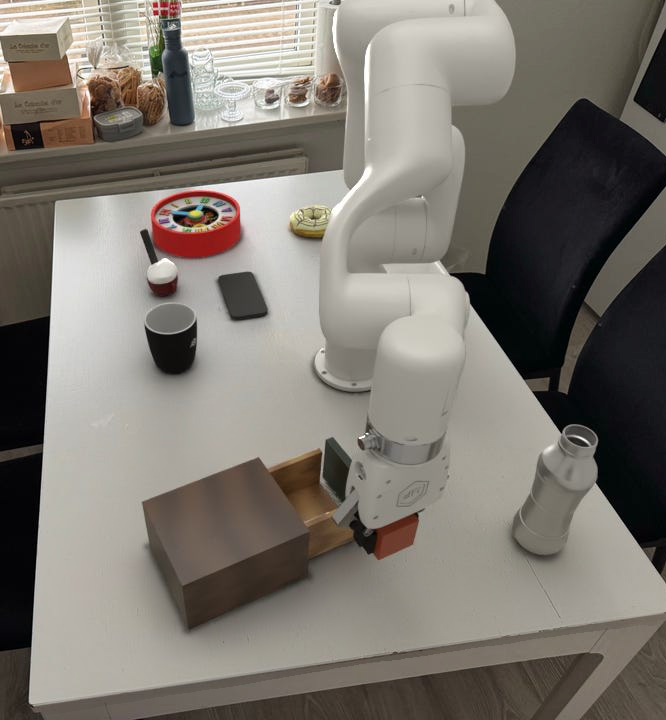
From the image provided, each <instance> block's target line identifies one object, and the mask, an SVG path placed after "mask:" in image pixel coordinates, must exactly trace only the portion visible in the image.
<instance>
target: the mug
mask: <svg viewBox="0 0 666 720" xmlns="http://www.w3.org/2000/svg"><path fill="white" fill-rule="evenodd" d="M197 318H198V317H197V313H196V311H195V310H194V309H193V308H192V307H191V306H189V305H187V304H184V303H180V302H164V303H160V304H158V305H155V306H153V307H152V308H150V309H149V310H148V311H147V312H146V313H145V314H144V318H143V327H144V331H145V338H146V341H147V344H148V348H149V352H150V355H151V358H152V360H153V362H154V364H155V366H156V367H157V368H158V369H159V370H160V371H161V372H163V373H165V374H169V375H179V374H182V373H185V372H186V371H188V370H190V368H191V367H192V366H193V364H194V362H195V358H196V354H197V345H198V319H197Z"/></svg>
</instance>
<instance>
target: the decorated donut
mask: <svg viewBox="0 0 666 720" xmlns="http://www.w3.org/2000/svg"><path fill="white" fill-rule="evenodd" d="M333 209H334V208H331V207H329V206H325V205H319V204H318V205H308V206H304V207H301V208H299V209H296V210H295V211H294V212H292V214H290V216H289V227H290V230H291V231H292V232H293V233H295V234H296V235H299V236H301V237H307V238H323V237H324V234H325V231H326V228H327V226H328V221H329V216H330V214H331V212H332V210H333Z"/></svg>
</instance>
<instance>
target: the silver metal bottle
mask: <svg viewBox="0 0 666 720" xmlns="http://www.w3.org/2000/svg"><path fill="white" fill-rule="evenodd" d="M598 442H599V438H598V436H597V434H596V433H595V432H594V431H593V430H592V429H590V428H589V427H587V426H584V425H581V424H569V425H567V426H565V427H564V428H563V430H562V433H561V435H560V436H559V438H558V440H557V442H555V443H552V444H550V445H548V446H547V447H545V448H544V449H543V450H542V451H541V452H540V453H539V455H538V457H537V461H536V467H535V473H534V479H533V482H532V485H531V488H530V492H529V494H528V495H527V497H526V499H525V501H524V502H523V504H522V505H520V507H519V508H518V510H517V511H516V513H515V514H514V516H513V519H512V533H513V536H514V538H515V539H516V541H517V542H518V544H519V545H520V546H521V547H522V548H523V549H524V550H526V551H528V552H530V553H532V554H535V555H539V556H550V555H553V554H557V553H558V552H559V551H561V549H562V548H563V547H564V546H565V545H566V544H567V543H568V539H569V536H570V535H569V534H570V528H571V524H572V520H573V517H574V515H575V512H576V510H577V509H578V507H579V505H580V504H581V502H582V501H583V499H584V498H585V496H586V495H587V494H588V493H589V491H591V489H592V488H593V487H594V485H595V484H596V482H597V480H598V470H599V469H598V464H597V463H596V460H595V457H594V455H595V453H596V449H597V446H598V444H599V443H598Z"/></svg>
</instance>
